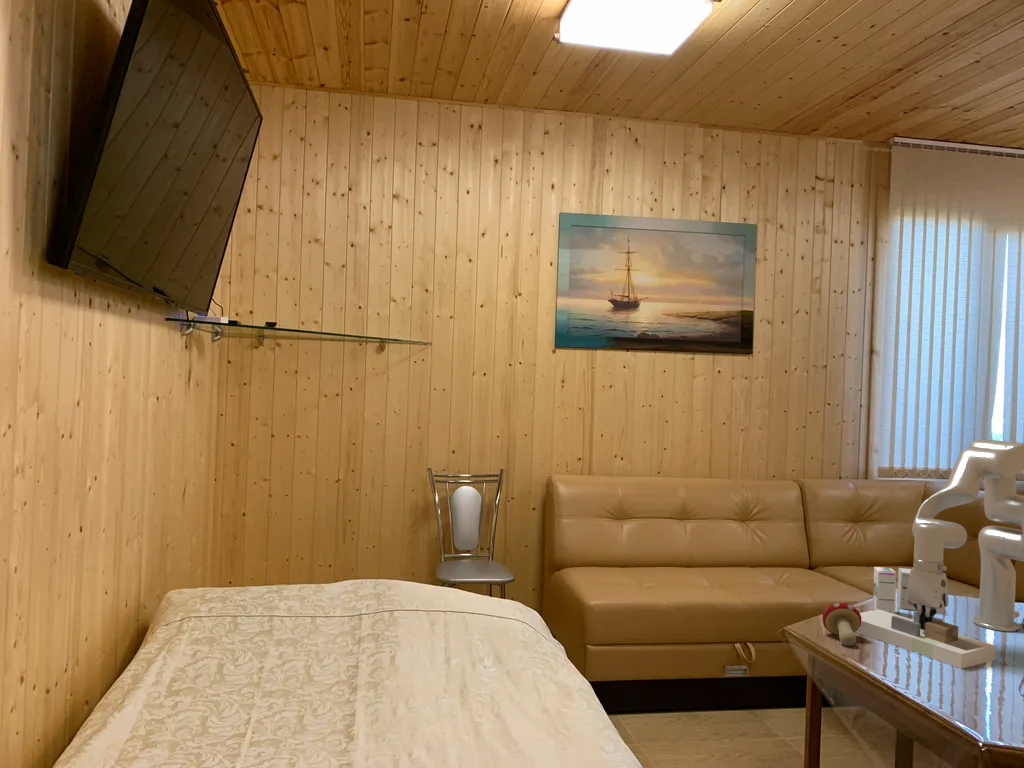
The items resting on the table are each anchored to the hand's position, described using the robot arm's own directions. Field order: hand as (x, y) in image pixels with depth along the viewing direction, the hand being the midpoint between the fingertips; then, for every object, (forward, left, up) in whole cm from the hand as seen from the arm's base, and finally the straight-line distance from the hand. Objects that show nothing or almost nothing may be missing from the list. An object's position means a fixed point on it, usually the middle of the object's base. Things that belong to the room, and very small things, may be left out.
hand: (925, 629), depth 224 cm
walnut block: (+1, +5, -1) cm, 5 cm away
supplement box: (-33, -27, -5) cm, 43 cm away
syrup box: (-19, -27, -5) cm, 33 cm away
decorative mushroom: (+18, -15, -5) cm, 24 cm away
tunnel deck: (0, -3, -5) cm, 6 cm away
